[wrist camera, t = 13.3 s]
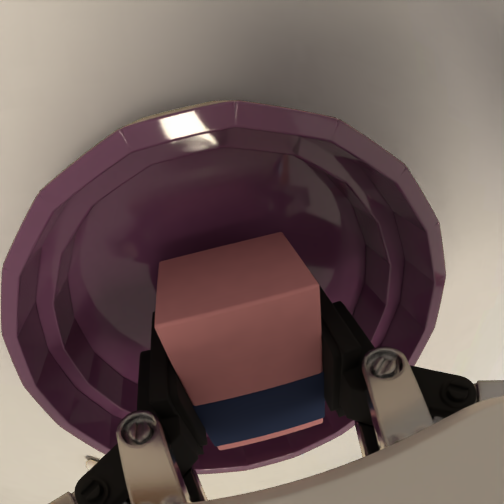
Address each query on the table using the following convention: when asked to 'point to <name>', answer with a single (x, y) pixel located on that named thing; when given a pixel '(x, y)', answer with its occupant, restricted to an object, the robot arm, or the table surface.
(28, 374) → the bowl
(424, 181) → the table surface
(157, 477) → the robot arm
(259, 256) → the eraser
